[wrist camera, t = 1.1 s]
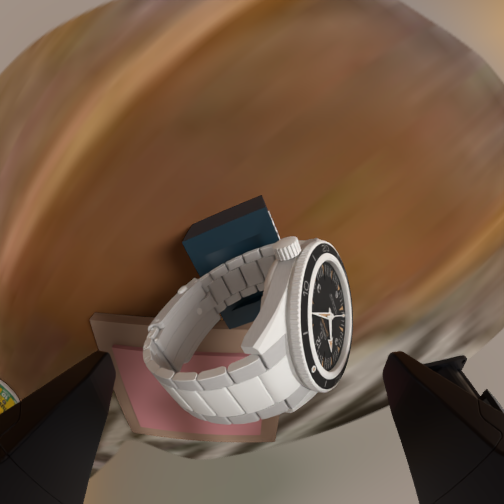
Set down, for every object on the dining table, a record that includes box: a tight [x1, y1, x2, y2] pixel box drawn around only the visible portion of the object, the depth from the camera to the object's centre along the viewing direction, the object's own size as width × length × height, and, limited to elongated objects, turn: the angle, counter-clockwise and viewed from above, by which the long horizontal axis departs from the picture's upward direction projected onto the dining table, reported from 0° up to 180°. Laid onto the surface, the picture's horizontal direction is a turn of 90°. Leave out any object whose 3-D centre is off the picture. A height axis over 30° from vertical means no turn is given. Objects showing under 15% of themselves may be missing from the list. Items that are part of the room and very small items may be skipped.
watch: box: [143, 195, 353, 425], centre depth 12 cm, size 6×8×11 cm
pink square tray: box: [90, 312, 280, 442], centre depth 21 cm, size 14×14×1 cm
